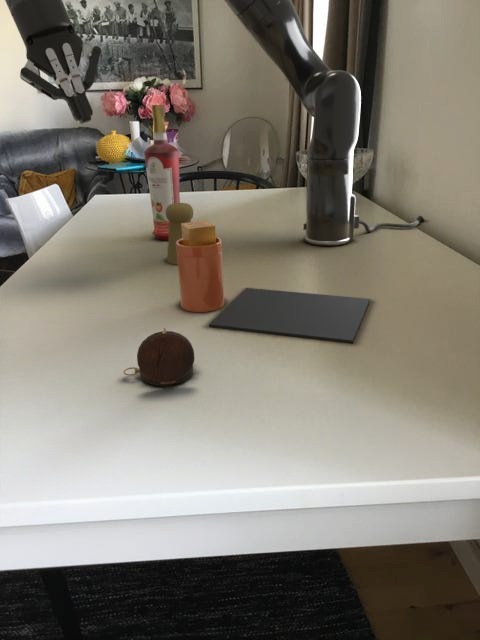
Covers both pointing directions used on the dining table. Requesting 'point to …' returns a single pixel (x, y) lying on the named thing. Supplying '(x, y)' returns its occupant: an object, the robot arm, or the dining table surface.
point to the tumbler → (200, 276)
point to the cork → (176, 226)
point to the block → (198, 233)
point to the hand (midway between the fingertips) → (86, 121)
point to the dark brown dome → (165, 358)
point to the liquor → (162, 174)
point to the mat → (294, 314)
